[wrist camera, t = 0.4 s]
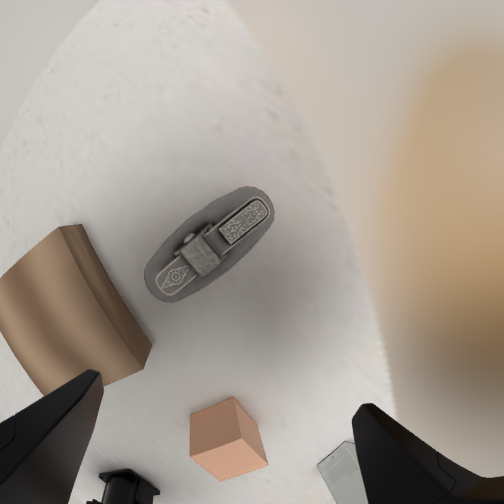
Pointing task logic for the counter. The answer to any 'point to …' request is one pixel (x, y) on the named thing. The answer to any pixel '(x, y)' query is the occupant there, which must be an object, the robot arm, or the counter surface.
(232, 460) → the terracotta block
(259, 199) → the lighter
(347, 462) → the small box
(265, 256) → the counter surface
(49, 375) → the plate
